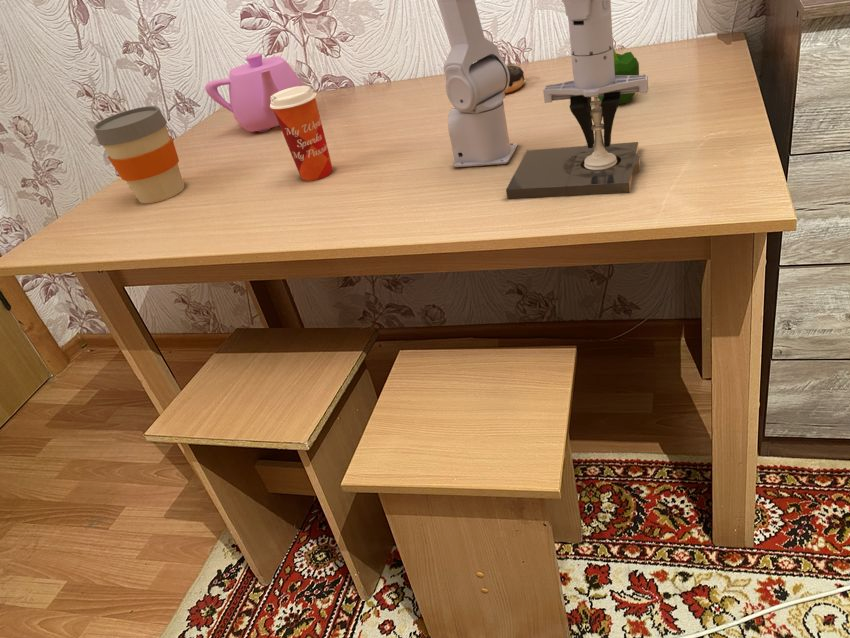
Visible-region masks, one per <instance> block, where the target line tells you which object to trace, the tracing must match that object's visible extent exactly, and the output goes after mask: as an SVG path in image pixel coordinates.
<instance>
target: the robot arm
mask: <svg viewBox="0 0 850 638" xmlns="http://www.w3.org/2000/svg"><path fill="white" fill-rule="evenodd" d="M436 1H437V5H438V8H439V12H440V16H441V18H442V22H443V25H444V29H445V32H446V35H447V39H448V42H449V45H450V51H449V53H448V55H447V57H446V60H445V61H444V62H445V63H443V67H442V68H443V71H444V75H445V92H446V95H447V98H448V100H449V102H450V104H451V105H452V108H451V109H450V110H449V112H448V116H447V128H448V135H449V140H450V144H451V150H452V154H453V159H454V164H453V166H454V167H453V168H466V167H481V166H483V167H484V166H494V165H495V166H497V165H506V164H508V163H509V162H510V160H511V158H512V156H513V155H514V153H515V151H516V149H517V148H518V143H516V142H515V143H512V142H511V141H510V135H509V129H508V123H507V117H506V110H505V102H504V99H506V93H505V92H504V91H505V90H506V89H507V87H508V85H509V81H510V76H509V71H508V68H507V66H508V65H507V64H506V63H505V61H504V60H503V58H502V55H501V54H500V51H499V47H498V45H497V44H495V43H493V42H492V41H491V40H489V39H488V38H486V37H485V35H484V31H483V26H482V23H481V20H480V15H479V12H478V7H477V4H476V1H475V0H436ZM561 2H562V3H563V5H564V9H565V16H567V22H568V32H569V42H570V51H571V53H570V54H571V65H572V74H573V75H572V76H573V80H568V81H564V82H560V83H559V82H558V83H555V84H548V85H545V86H544V88H543V89H542V92H543V99H544V100H543V101H544V104H550V103H552V102H553V101H563V100H569V101H570V102H569V110H570V112H571V113H572V115H573V116H574V118H575V120H576V121H577V123H578V124H579V126H580V128H581V131H582V133H583V136H584V139H585V141H586V146H588V148H593V145H594V144H595V131H594V130H591V126H592V125H594V123H593V120H592V117H591V115H590V111H591V110H592V106H590V102H592V98H594V97H598V96H604V97H603V99H602V102H601V105H600V108H602V115H603V117H602V122H603V123H602V124H604V129H603V142H604V146H605V147H609V146H610V144H612V133H613V132H612V131H613V130H612V129H613V125H614V121H615V117H616V113H617V110H618V108H619V105H620V104H619V102H620V99H621V96H622V94H626V93H635V94H636V93H639V94H642V95H643V94H647V93H648V91H649V75H648V74H639V75H634V76H631V75H615V70H614V52H613V49H614V37H613V20H612V18H613V17H612V2H611V0H561ZM506 65H507V66H506ZM453 107H454V108H453ZM510 142H511V143H510Z"/></svg>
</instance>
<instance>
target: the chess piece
mask: <svg viewBox="0 0 850 638" xmlns="http://www.w3.org/2000/svg"><path fill="white" fill-rule="evenodd" d="M601 102H602V100H601V101H600V100H599V99H598V96H595V97H593V100H591V102H590V106H591V107H593V106H594V108H593V109H592V108H591V111H590V115H591V117H592V123H593V125H592V126H591V130H593V131H594V152H593V153H592V155H590V156H588V157H587V158H586V159H585V160H584V166H585V169H586V170H593V171H596V170H604V169H609V168H612V167H614V166H616V165H617V164H616V163H617V160H616V156H615V155H614V154H612V153H608V152H607V151H606V150H605V147H604V136H603V132H602V131H603V130H604V123H602V122H603V115H602V108H601V107H599V105H600V106H601Z"/></svg>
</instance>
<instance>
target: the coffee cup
mask: <svg viewBox="0 0 850 638" xmlns="http://www.w3.org/2000/svg"><path fill="white" fill-rule="evenodd" d="M317 95H318V94H317V92H314V88H311V86H309V85H303V86H297V87H292V88H288V89H285V90H282V91H279V92H277V93H275V94H273V95H272V96H271V98H270V100H271V104H270V108H272V109H273V110H274V113H275V115H276V118H277V120H278V123H279V127H280V130H281V132H282V135H283V137H284V140H285V142H286V145H287V147H288V149H289V152H290V154H291V157H292V159H293V162H294V165H295V167H296V169H297V171H298V174H299V176H300V177H301V180H303V181H306V182H312V181H313V182H314V181H317V180H321V179H325V178H327V177H328V176H329V175H331V174H332V173H333V170H334V169H333V165H332V161H331V155H330V152H329V148H328V144H327V139H326V135H325V132H324V128H323V127H324V126H323V124H322V123H323V122H322V120H321V115H320V111H319V107H318V103H317V100H316V97H317Z"/></svg>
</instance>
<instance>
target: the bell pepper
mask: <svg viewBox="0 0 850 638" xmlns="http://www.w3.org/2000/svg"><path fill="white" fill-rule="evenodd" d="M613 52H614V70H615V75H631V76H634V75H640V63H639V61H638V59H637V57H635V55H634V54H633V52H632V51H626V52H624V53H623V54H621V53H616V50H615V48H613ZM635 94H636V93H626V94H622V96H621V99H620V102H619V105H621V104H626V103H629V102H631V101H632V99H634V98H633V97H634V96H635ZM597 97H598V101H601V100H602V99H603V97H604V96H597Z"/></svg>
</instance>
